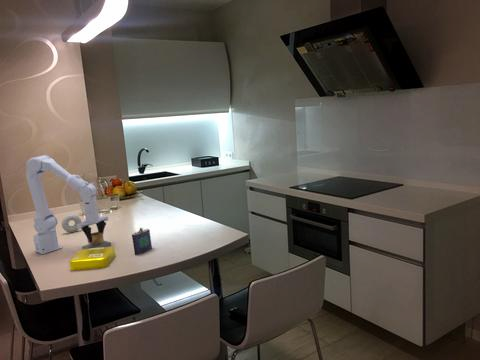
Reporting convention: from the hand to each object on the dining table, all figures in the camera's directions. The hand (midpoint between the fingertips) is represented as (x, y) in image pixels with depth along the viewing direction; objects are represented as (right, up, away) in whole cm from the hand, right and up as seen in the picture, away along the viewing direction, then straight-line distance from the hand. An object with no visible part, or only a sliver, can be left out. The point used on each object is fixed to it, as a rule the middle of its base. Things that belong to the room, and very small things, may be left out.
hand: (95, 239), depth 188 cm
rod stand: (0, -4, +1) cm, 4 cm away
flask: (+24, -4, -10) cm, 27 cm away
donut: (-22, -1, +29) cm, 37 cm away
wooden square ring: (0, -1, 0) cm, 1 cm away
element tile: (+6, -8, -18) cm, 20 cm away
